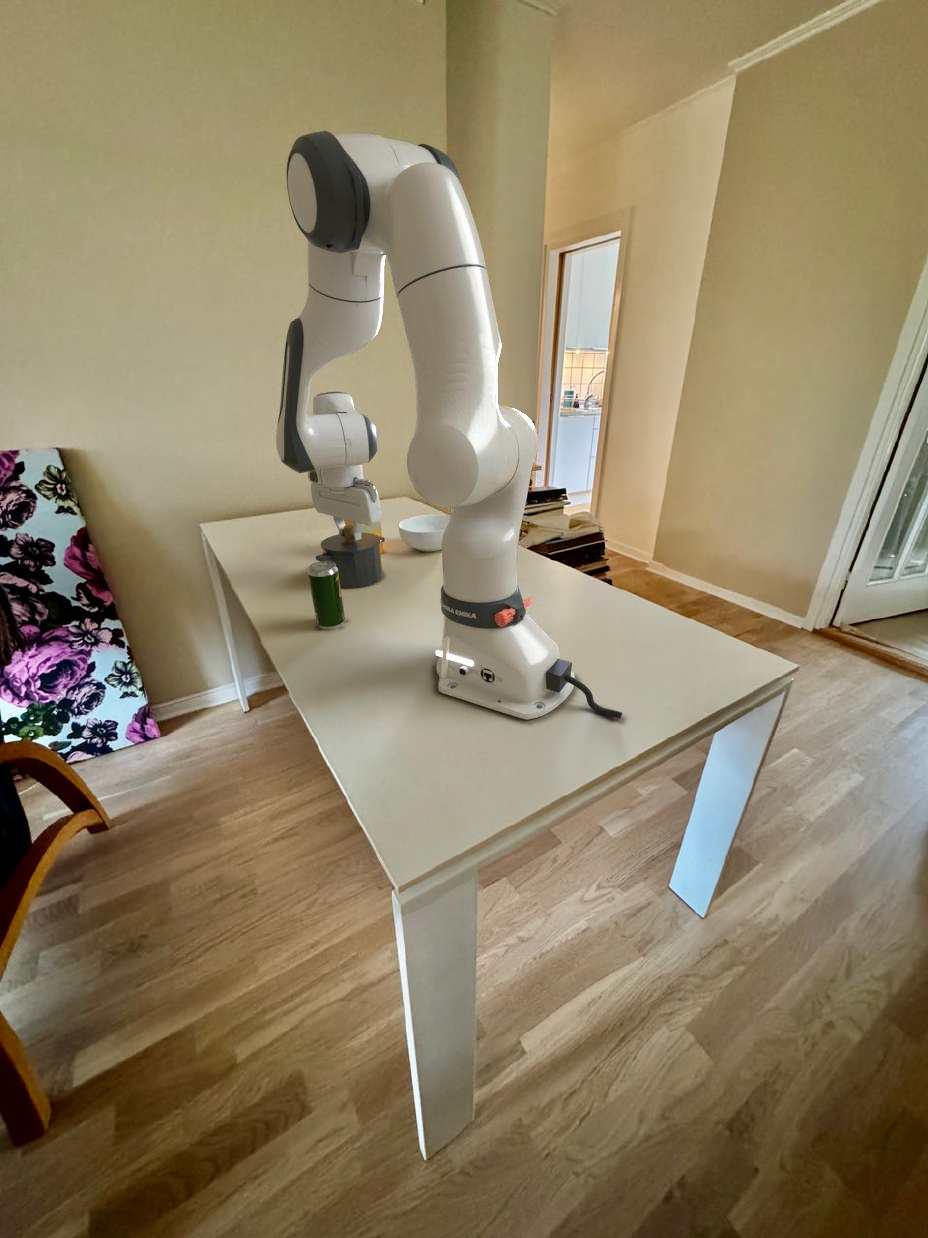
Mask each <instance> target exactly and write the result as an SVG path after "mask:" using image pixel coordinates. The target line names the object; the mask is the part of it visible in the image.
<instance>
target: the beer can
mask: <svg viewBox="0 0 928 1238" xmlns="http://www.w3.org/2000/svg"><path fill="white" fill-rule="evenodd" d="M307 569H308V570H307V576H308V577H307V578H308V581H309V582H308V583H309V587H310V593H311V599H312V605H313V609H314V617H315V622H316V625H317V626H318V627H319V628H320V629H321V630H327V631H329V630H336V629H339V628H341V627H342V626H343V625H344V624H345V621H346V616H345V608H344V603H343V595H342V588H341V587H340V581H339V574H338V569H337V567H336V564H335V563H334V562H330V561H321V562H320V561H317V562H313V563H310V564H309V565H308V567H307Z"/></svg>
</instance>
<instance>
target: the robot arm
mask: <svg viewBox="0 0 928 1238" xmlns="http://www.w3.org/2000/svg"><path fill="white" fill-rule="evenodd" d="M286 187H287V188H286V189H287V195H288V201H289V205H290V208H291V213H292V216H293V218H294V221H295V224H296V225H297V227H298V229H299V231H300V232H301V233H302V235H303V236H304V237H305V238H306V240H307V286H308V287H307V296H306V300H305V304H304V306H303V309H302V311H301V312H300V314H299V316H298V317H296V318H295V319H293V320H291V321H290V323H289V326H288V329H287V333H286V339H285V346H284V354H283V355H284V356H283V367H282V377H281V378H282V380H281V390H280V391H281V392H280V404H279V414H278V419H277V427H276V431H275V447H276V451H277V454H278V456H279V459H280V461H281V463H283V464H284V466H286V467H288V468H289V469H291V470H292V471H294V472H296V473H298V474H303V473H304V474H305V473H307V479H308V481H309V482H310V493H311V494H310V495H311V500H312V504H313V508H314V509H315V511H316V512H317V513H319V514H322V515H327V516H331V517H332V519H333V522H334V524H335V526H336V527H337V529H338V534H339V535H340V536H344V537H345V534H344V526H346V525H345V522H344V519H345V520H349V521H352V525H353V526H354V529H353V531H352V532H351V538H352V539H354V540H360V539H361V538H362V537H361V530H362V528H363V525H368V526H371V525H375V524H378V523H380V522H381V523H382V520H383V509H382V506H381V499H380V496H379V493H378V491H377V487H376V486H375V485H374V484H373V483H372V481H371V480H369V479H364V472H363V471H364V470H363V465H365V464H368V463H369V464H370V462H371V461H372V460H373V458H374V457H375V456H376V454H377V452H378V438H377V428H376V424H374V422H373V421H372V420H371V419H370V418H369V417H368V416H366V415H365V414H364V413H360V412H358V411H357V410H356V408H355V405H354V401H353V397H352V395H351V394H349V393H347V392H345V391H344V392H343V391H326V392H322V393H318V394H316V395H315V396H314V397H313V400H312V403H313V404H312V410H313V411H312V414H308V408H309V402H310V401H309V400H310V392H311V384H312V381H313V378H314V377H315V376H316V374H317V373H318V372H319V371H321V370H322V369H323V368H325V367H326V366H328V365H329V364H332V363H334V362H336V361H338V360H341V359H343V358H346V357H348V356H351V355H353V354H356V353H358V352H359V351H361V350H363V349H364V348H366V347H367V346H368V345H369V344H370V343H371V342H372V341H373V340H374V338H375V337H376V336H377V334H378V332H379V330H380V328H381V323H382V317H383V311H384V310H383V309H384V295H385V294H384V288H385V260H386V258H387V261H388V264H389V269H390V273H391V278H392V283H393V288H394V291H395V295H396V300H397V303H398V307H399V311H400V316H401V319H402V323H403V327H404V328H403V329H404V333H405V336H406V340H407V344H408V349H409V353H410V356H411V360H412V361H411V362H412V367H413V374H414V383H415V412H416V413H415V428H414V433H413V436H412V438H411V441H410V443H409V445H408V449H407V454H406V467H407V468H406V469H407V474H408V478H409V479H410V482H411V484H412V486H413V488H414V489H415V490H416V491H415V492H417V494H419V496H420V497H421V498H423V499H424V500H425V501H426V502H428V503H430V504H431V505H434V506H437V507H440V508H451V512H450V515H449V516H450V518H449V522H448V524H447V526H446V528H445V531H444V533H443V537H442V550H441V561H442V583H443V584H442V585H441V587H440V599H439V601H440V610H441V613H442V615H443V624H442V635H441V645H440V650H436V651H435V655H436V656H438V659H437V662H436V665H435V666H436V667H435V669H436V673H437V675H438V678H439V679H438V685H437V686H438V687H437V689H438V692H439V693H441V694H444V695H447V696H450V697H453V698H456V699H459V700H462V701H466V702H469V703H472V704H475V705H478V706H481V707H484V708H487V709H490V710H493V711H497V712H500V713H503V714H505V715H509V716H512V717H514V718H515V717H516V718H518V719H522V720H526V721H527V720H533V719H536V718H540V717H542V716H544V715H547V714H548V713H550V712H552V711H554V710H555V709H556V708H558V707H559V706H560V705H562V703H563V702H564V701H565V700H566V699H567V698H568V697H569V696H570V694H571V693H572V692H573V690H574V687H575V688H577V689H579V691H581V692H582V693H583V694H584V695H585V698H586V702H587V704H588V706H589V708H591V709H592V710H593V711H594V712H596V713H598V714H600V715H603V716H607V717H613V718H616V719H619V720H621V719H622V717H623V712H622V711H619V710H615V709H611V708H606V707H604V706H601V705H599V704H597V702H595V699H594V696H593V693H592V691H591V689H590V688H588V687H589V686H587V685H586V684H585V683H583V682H582V681H580V680H578V679H577V678H575V672H573V670H572V668H573V662H572V661H569V660H565V659H562V658H561V654H560V648H559V647H558V644H557V643H556V642H555V641H554V640H553V639H552V638H551V637H550V636H549V635H548V634H547V633H546V632H545V631H544V630H543V628H541V627H540V626H539V624H537V622H535V620H533V618H532V617H530V615H529V614H528V613H527V609H526V608H528V607H529V606H531V604H532V603H533V602H532V601H531V600H532V599H533V597H532V596H528V597H527V598H525V599H523V596H522V592H521V591H520V588H519V585H518V563H519V562H518V561H519V543H520V535H521V527H522V522H523V517H524V513H525V508H526V504H527V498H528V493H529V488H530V482H531V475H532V470H533V466H534V463H535V460H536V458H537V455H538V452H539V435H538V432H537V428H536V427H535V425H534V423H533V421H532V420H531V419H530V418H529V417H528V416H527V415H526V414H524V413H522V412H521V411H519V410H517V409H515V408H512V407H510V406H507V405H499V404H498V363H499V357H500V354H501V349H502V341H501V340H502V339H501V336H500V330H499V326H498V320H497V315H496V311H495V304H494V299H493V295H492V289H491V285H490V279H489V274H488V270H487V264H486V260H485V255H484V251H483V247H482V243H481V240H480V236H479V232H478V229H477V226H476V222H475V218H474V216H473V212H472V210H471V207H470V203H469V201H468V198H467V195H466V193H465V190H464V188H463V185H462V182H461V178H460V174H459V171H458V169H457V166H456V164H455V163H454V161H453V160H452V158H451V157H450V156H449V155H447V154H446V153H445V152H443V151H441V150H440V149H438V148H435V147H434V146H431V145H429V144H426V143H419V144H415V143H411V142H408V141H404V140H399V139H397V138H396V139H395V138H390V137H384V136H383V135H380V134H377V133H366V132H365V133H363V132H350V133H349V132H345V133H335V134H333V133H332V132H330V131H327V130H321V131H320V130H319V131H314V132H310V133H307V134H304V135H301V136H299V137H298V138H297V139H295V141H293V144H292V147H291V148H290V151H289V154H288V157H287V161H286Z"/></svg>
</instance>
